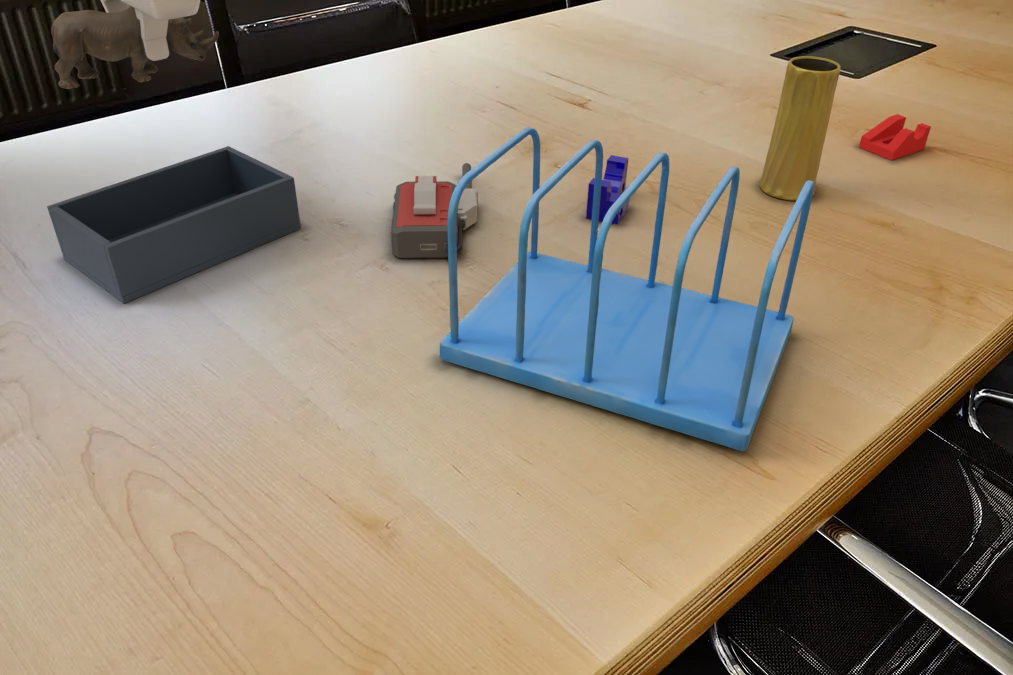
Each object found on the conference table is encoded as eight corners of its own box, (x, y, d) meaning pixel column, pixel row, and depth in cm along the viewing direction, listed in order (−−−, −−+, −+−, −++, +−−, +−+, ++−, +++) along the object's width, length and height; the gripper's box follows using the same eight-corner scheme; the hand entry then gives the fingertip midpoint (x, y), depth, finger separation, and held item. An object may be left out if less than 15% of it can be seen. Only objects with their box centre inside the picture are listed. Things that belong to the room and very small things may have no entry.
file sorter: (791, 333, 74) (832, 168, 65) (744, 458, 61) (788, 273, 52) (527, 266, 82) (532, 111, 74) (438, 362, 70) (431, 190, 61)
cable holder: (617, 224, 90) (621, 189, 87) (586, 218, 91) (588, 183, 88) (638, 193, 96) (641, 160, 93) (608, 188, 97) (611, 155, 94)
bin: (64, 259, 82) (46, 206, 79) (237, 194, 94) (228, 145, 91) (123, 303, 76) (107, 247, 73) (301, 228, 88) (294, 177, 85)
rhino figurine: (228, 75, 76) (215, 4, 72) (59, 93, 72) (37, 19, 68) (222, 61, 79) (210, -8, 75) (60, 78, 75) (39, 6, 71)
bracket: (891, 136, 110) (897, 114, 109) (923, 149, 107) (931, 126, 105) (858, 146, 107) (864, 124, 106) (891, 160, 104) (898, 137, 102)
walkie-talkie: (480, 264, 82) (476, 176, 99) (480, 223, 80) (476, 140, 96) (389, 265, 82) (399, 177, 98) (386, 224, 79) (397, 140, 96)
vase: (756, 176, 100) (780, 53, 92) (810, 179, 99) (839, 56, 91) (762, 199, 95) (788, 71, 87) (818, 203, 94) (850, 74, 86)
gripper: (15, -142, 71) (62, 29, 79) (111, -111, 58) (156, 88, 66) (92, -147, 74) (130, 17, 82) (198, -118, 62) (231, 72, 70)
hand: (142, 50), depth 74 cm, fingers closed on rhino figurine, 4 cm apart
